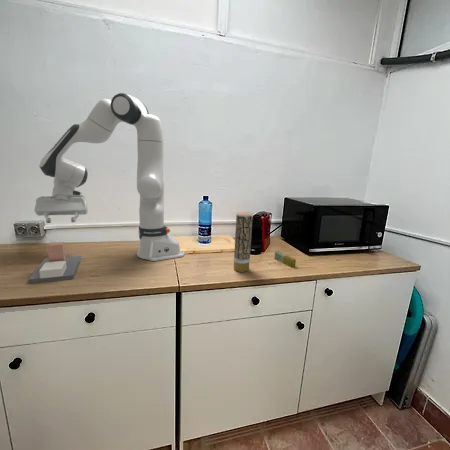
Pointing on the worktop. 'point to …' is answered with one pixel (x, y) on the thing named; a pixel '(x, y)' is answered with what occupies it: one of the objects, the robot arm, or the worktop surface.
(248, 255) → the paper tube
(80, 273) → the worktop surface
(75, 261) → the stand
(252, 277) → the worktop surface
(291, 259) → the medication box
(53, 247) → the salmon pink rectangular block
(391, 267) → the worktop surface
